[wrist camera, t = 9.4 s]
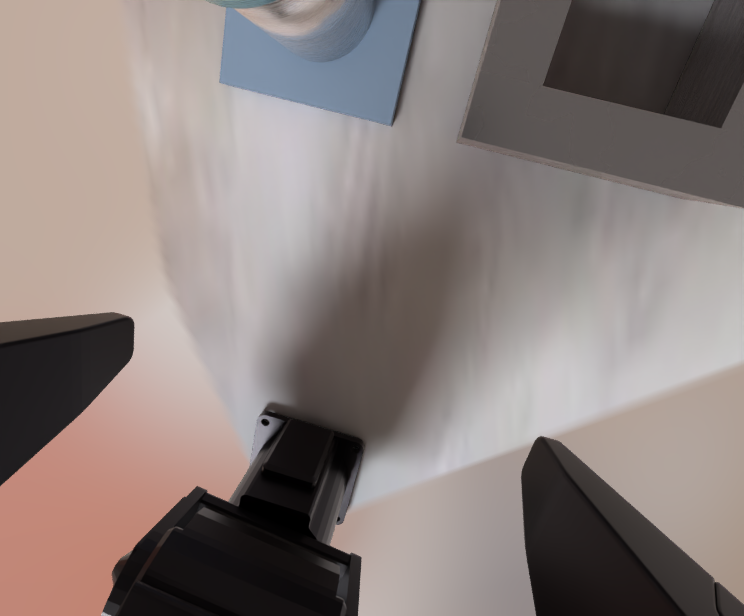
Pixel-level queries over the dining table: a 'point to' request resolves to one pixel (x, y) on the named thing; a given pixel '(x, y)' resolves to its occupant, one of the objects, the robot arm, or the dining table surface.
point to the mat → (326, 65)
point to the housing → (614, 109)
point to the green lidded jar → (309, 24)
